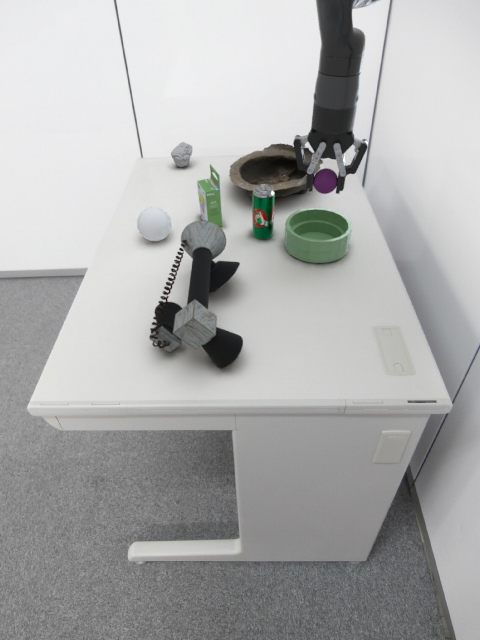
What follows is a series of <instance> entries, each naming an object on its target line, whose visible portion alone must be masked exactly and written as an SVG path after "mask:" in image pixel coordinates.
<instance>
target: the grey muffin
mask: <svg viewBox="0 0 480 640" xmlns="http://www.w3.org/2000/svg"><path fill="white" fill-rule="evenodd" d="M192 154H193V145H191V144H189V143H187V142H186V141H182V142H179V144H178V145H176V146H175V147H174V148H173V149H172V150H171V152H170V156H171V158H172V159H173V163H174V164H175V166H177V167H179V168H185V167H187V166H188V165H189V163H190V160H191V157H192Z"/></svg>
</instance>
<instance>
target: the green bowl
mask: <svg viewBox="0 0 480 640" xmlns="http://www.w3.org/2000/svg"><path fill="white" fill-rule="evenodd" d="M352 229H353V224H352V222H351V220H350V219H349V218H348V217H347V216H346V215H344V214H343V213H341V212H339V211H336V210H333V209H329V208H321V207H309V208H302V209H298V210H296V211H294V212H293V213H291V214H290V215H289V216H288V217H286V220H285V223H284V240H283V241H284V242H283V245H284V248H285V250H286V251H287V252H288V254H289V255H290V256H292V257H294V258H296V259H298V260H301V261H303V262H306V263H315V264H322V263H323V264H324V263H331V262H335V261H338V260H339V259H341V258H343V257H344V256H346V254H347V252H348V251H349V248H350V247H349V246H350V241H351V236H352V231H353V230H352Z"/></svg>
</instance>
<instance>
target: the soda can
mask: <svg viewBox="0 0 480 640" xmlns="http://www.w3.org/2000/svg"><path fill="white" fill-rule="evenodd" d="M251 198H252V200H251V201H252V202H251V203H252V204H251V205H252V206H251V208H252V214H251V215H252V217H251V219H252V223H251V225H252V226H251V227H252V235H253V236H254V237H255V238H256V239H258V240H268V239H270V238H271V237H273V235H274V231H275V230H274V229H275V203H276V201H275V199H276V197H275V192H274V190H273V187H272V186H270V185H266V184H261V185H257V186H256V187H255V188H254V191H253V193H252V196H251Z"/></svg>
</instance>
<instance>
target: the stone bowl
mask: <svg viewBox="0 0 480 640" xmlns="http://www.w3.org/2000/svg"><path fill="white" fill-rule="evenodd" d="M303 152H304V157H305V161H306V162H308V163H309V162H310V160H311V158H312V155H313V153H314V152H312V150H310V148H309V147H305V148H304V149H303ZM323 164H324V160H323V159H320V160H319V162H318V164H317V165H316V167H315V169H314V170H315V174H316V173H317V172H318V171H319V170H321V165H323ZM228 173H229V179H230V181H231V183H233V184H234V185H236V186H237V187H239V188H242V189H244V190H245V191H246V193H248V195H249V196H251V197H252V193H253V191H254V188H255V187H256V186H257V185H261V184H266V185H270V186H272V187H273V190H274V192H275V198H282V197H287V196H290V195H293V194H296V193H298V194H305V193H308V192H309V189H308V188H306V180H307V173H306V172H305V171H303V170H302V171H301V170H299V169H298V165H297V160H296V155H295V150H294V145H292V144H288V143H272V144H270V145H269V146H268V147H264V148H263V149H262V150H255V151H252V152H251V153H248V154H245V155H243V156H242V157H239V158H238V159H237V160H235V161H233V163H231V165H230V166H229V171H228ZM315 174H314V176H315Z"/></svg>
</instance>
